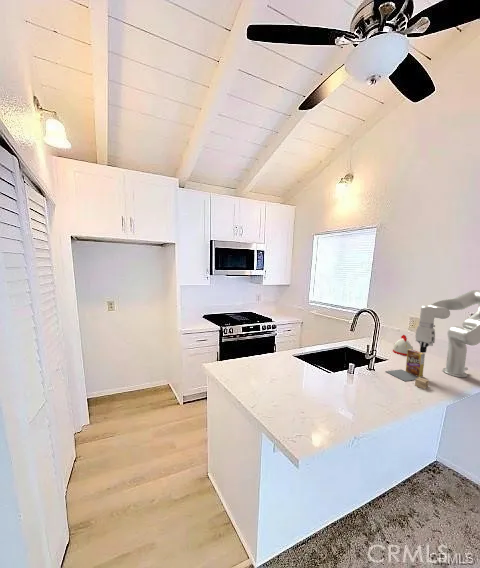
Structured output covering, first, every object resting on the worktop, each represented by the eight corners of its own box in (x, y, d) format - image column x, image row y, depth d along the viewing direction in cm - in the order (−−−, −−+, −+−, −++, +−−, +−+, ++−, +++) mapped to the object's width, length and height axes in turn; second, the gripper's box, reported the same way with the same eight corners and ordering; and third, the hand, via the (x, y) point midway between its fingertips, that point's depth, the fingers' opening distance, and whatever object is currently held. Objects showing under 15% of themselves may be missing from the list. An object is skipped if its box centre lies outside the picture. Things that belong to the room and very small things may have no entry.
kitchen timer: (396, 354, 204) (398, 336, 203) (389, 349, 217) (391, 332, 216) (416, 356, 202) (417, 338, 200) (407, 350, 215) (409, 333, 214)
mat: (401, 369, 173) (401, 369, 173) (421, 379, 160) (421, 378, 160) (385, 371, 169) (385, 371, 169) (404, 381, 156) (404, 380, 156)
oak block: (418, 383, 154) (419, 377, 154) (428, 387, 150) (428, 380, 150) (414, 385, 151) (415, 379, 151) (424, 389, 147) (425, 382, 147)
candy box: (405, 371, 171) (407, 349, 170) (409, 370, 172) (411, 348, 171) (418, 377, 163) (421, 354, 161) (423, 376, 164) (425, 353, 163)
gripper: (442, 327, 161) (438, 356, 163) (419, 322, 175) (416, 348, 177) (433, 328, 159) (430, 356, 160) (411, 322, 173) (408, 348, 174)
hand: (422, 352), depth 169 cm, fingers closed
